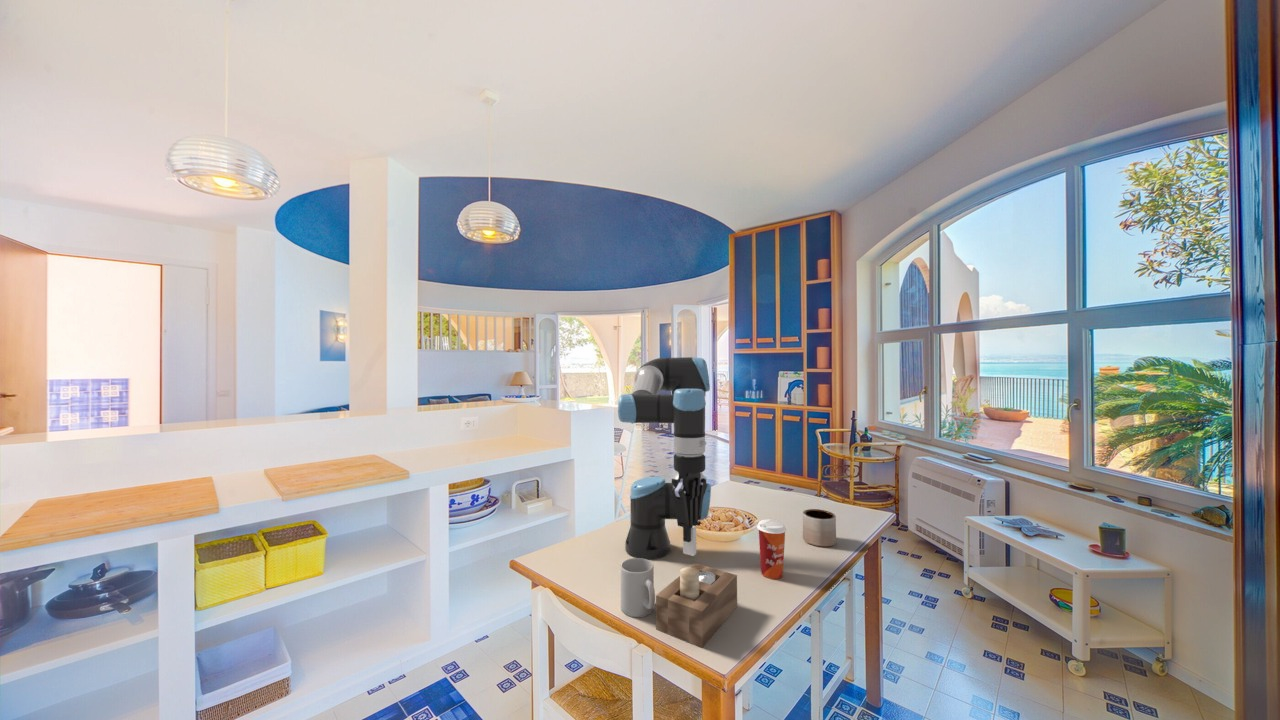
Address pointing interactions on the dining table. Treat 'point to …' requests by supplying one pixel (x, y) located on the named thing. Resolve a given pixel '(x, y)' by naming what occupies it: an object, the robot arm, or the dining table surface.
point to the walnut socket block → (697, 608)
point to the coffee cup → (771, 547)
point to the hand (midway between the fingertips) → (689, 553)
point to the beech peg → (689, 583)
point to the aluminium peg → (707, 577)
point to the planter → (819, 527)
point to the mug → (637, 587)
